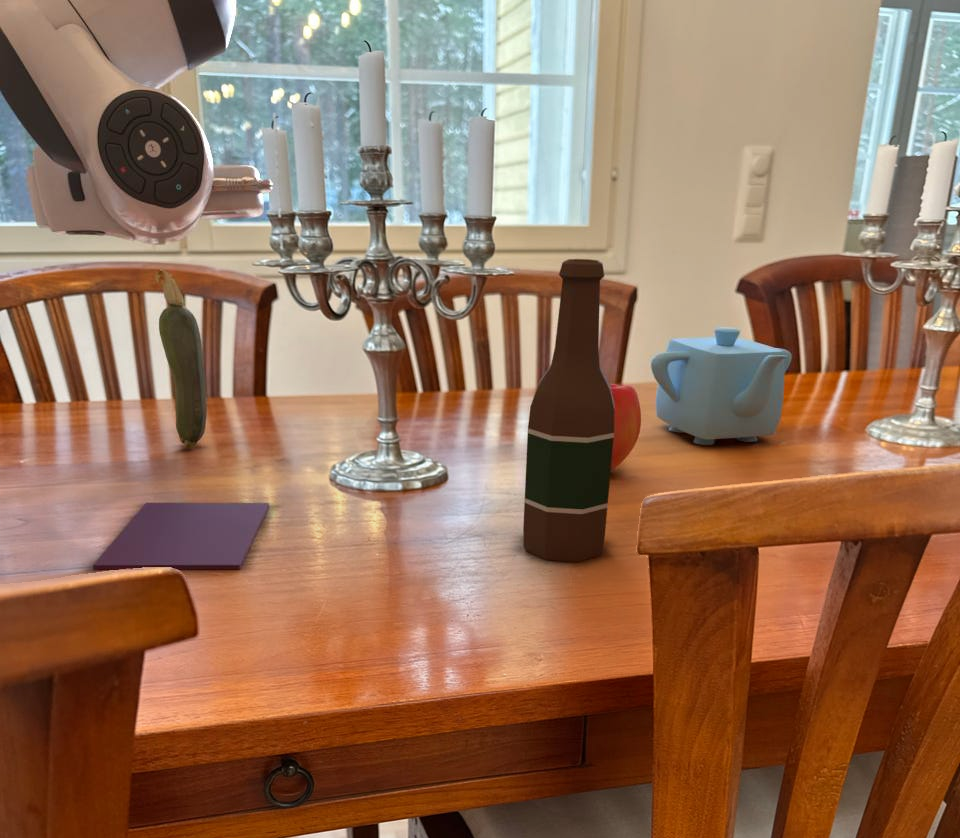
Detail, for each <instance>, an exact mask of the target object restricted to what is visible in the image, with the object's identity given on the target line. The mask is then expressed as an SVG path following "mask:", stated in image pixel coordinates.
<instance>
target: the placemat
mask: <svg viewBox="0 0 960 838" xmlns="http://www.w3.org/2000/svg"><path fill="white" fill-rule="evenodd" d="M269 508H270V503H269V502H145V503H144V504H143V506H142V507H141V508H140V509H139V510H138V512H136V514H135V515H134V516H133V517H132V518H131V520H130V521H129V522H128V523H127V524H126V526H124V528H123V529H121V532H120V533H119V534H118V535H117V536H116V537H115V539H114V540H113V541H112V542H111V543H110V545H108V547H107V548H106V549H105V550H104V551H103V553H102V554H101V555H100V556H99V557H98V559H96V561H94V563H93V564H92V568H93V570H127V569H126V568H142V567H172V568H176V569H175V570H241V568H242V566H243V563H244V562H245V559H246V557H247V555H248V553H249V550H250V549H251V546H252V544H253V542H254V540H255V538H256V536H257V534H258V531H259V529H260V528H261V525H262V523H263V521H264V518H265V517H266V514H267V512H268V511H269Z"/></svg>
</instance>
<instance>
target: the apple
mask: <svg viewBox="0 0 960 838" xmlns="http://www.w3.org/2000/svg"><path fill="white" fill-rule="evenodd" d="M609 384H610V387H611V391H612V395H613V399H614V409H615V412H614V440H613V451H612V462H611V472H612V471H613V470H615V469H616V468H617V467H619V466H620V465H621V463H622V462H624V460H626V459H627V457H628V456H629V455H630V453H631V452H632V451H633V449H634V448H635V445H636V444H637V441H638V439H639V436H640V433H641V427H642V413H641V411H642V410H641V405H640V399H639V396H638V393H637V390H636V388H635V387H633V386H632V385H619V384H616V383H610V382H609Z"/></svg>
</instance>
